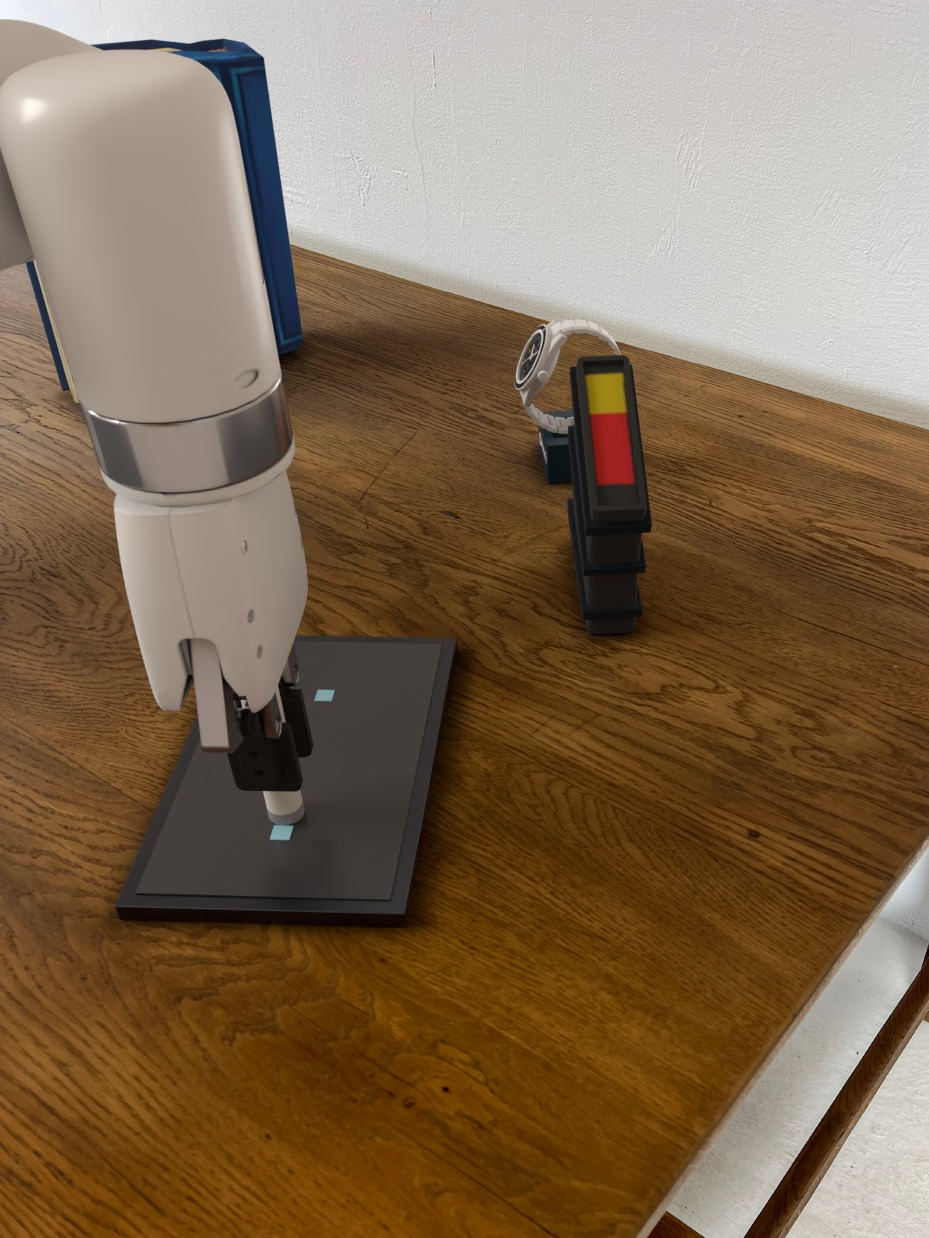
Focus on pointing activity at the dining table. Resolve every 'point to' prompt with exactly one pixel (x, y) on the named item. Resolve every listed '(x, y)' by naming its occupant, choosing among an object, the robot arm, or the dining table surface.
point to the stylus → (283, 794)
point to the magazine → (607, 493)
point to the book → (257, 142)
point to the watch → (534, 376)
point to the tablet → (310, 801)
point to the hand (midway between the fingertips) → (276, 768)
